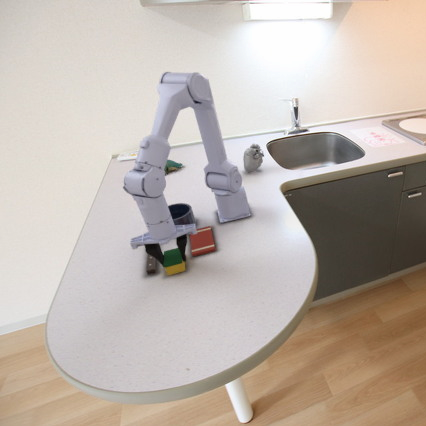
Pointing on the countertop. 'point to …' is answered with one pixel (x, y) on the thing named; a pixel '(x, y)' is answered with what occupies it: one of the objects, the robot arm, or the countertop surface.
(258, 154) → the heart
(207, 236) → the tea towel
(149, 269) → the knife
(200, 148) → the countertop surface
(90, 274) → the countertop surface
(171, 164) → the green clog
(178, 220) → the pot
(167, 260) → the sponge
